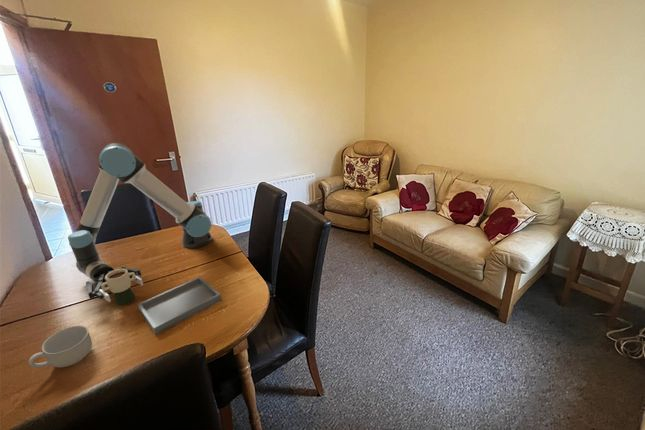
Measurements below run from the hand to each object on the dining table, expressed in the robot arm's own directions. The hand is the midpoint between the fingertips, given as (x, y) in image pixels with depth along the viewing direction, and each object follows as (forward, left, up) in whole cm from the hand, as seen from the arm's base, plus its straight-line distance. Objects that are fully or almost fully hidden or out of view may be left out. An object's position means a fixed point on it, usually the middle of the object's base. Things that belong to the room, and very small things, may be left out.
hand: (125, 290), depth 107 cm
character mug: (+1, -4, -7) cm, 8 cm away
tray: (-13, +14, -8) cm, 21 cm away
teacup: (+21, +14, -8) cm, 26 cm away
